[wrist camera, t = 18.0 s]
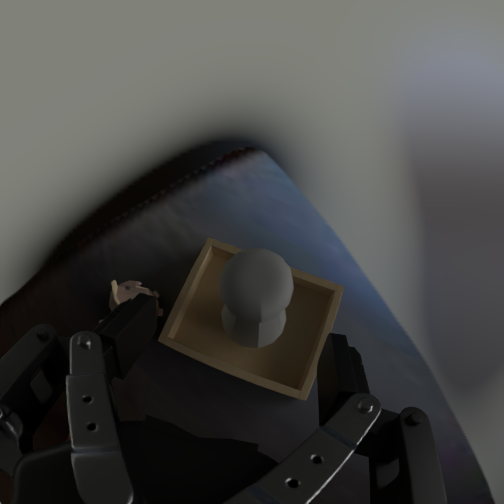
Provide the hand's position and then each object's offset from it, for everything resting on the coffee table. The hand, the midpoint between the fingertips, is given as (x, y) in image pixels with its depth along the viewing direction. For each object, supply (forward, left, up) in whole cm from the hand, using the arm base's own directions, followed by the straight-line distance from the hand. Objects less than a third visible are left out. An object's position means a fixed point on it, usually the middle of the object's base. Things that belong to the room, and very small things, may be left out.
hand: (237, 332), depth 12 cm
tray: (0, +3, -15) cm, 16 cm away
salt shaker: (0, +3, -15) cm, 15 cm away
